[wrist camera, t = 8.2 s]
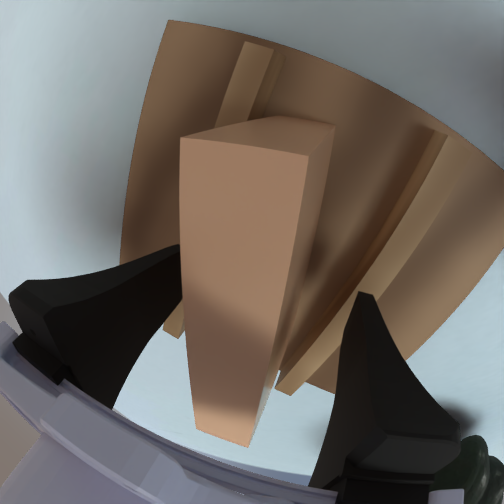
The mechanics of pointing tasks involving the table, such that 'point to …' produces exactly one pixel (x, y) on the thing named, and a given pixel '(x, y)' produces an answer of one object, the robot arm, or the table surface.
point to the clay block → (245, 258)
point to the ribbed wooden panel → (326, 189)
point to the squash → (473, 474)
